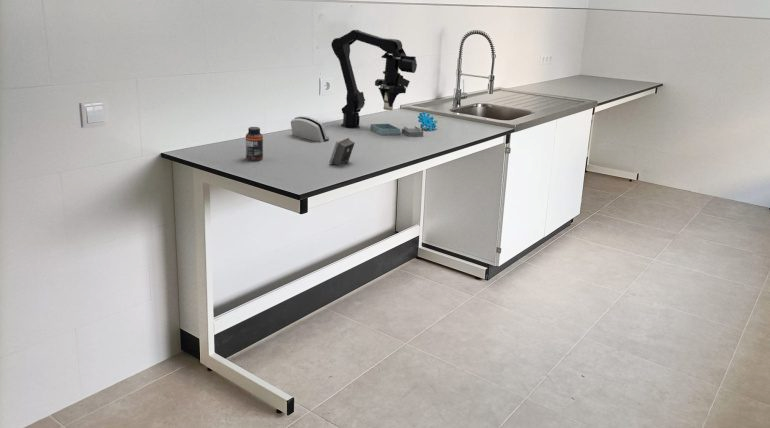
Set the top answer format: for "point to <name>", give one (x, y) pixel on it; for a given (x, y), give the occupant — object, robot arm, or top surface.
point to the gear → (427, 121)
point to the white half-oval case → (308, 128)
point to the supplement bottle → (254, 144)
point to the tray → (385, 129)
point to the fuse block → (412, 131)
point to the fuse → (386, 104)
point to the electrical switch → (342, 151)
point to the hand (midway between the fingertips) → (388, 105)
